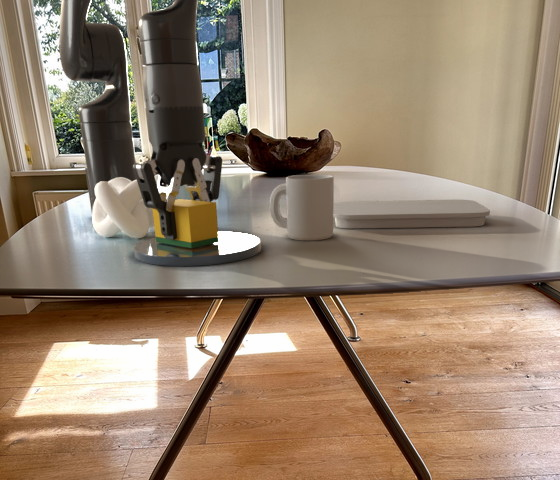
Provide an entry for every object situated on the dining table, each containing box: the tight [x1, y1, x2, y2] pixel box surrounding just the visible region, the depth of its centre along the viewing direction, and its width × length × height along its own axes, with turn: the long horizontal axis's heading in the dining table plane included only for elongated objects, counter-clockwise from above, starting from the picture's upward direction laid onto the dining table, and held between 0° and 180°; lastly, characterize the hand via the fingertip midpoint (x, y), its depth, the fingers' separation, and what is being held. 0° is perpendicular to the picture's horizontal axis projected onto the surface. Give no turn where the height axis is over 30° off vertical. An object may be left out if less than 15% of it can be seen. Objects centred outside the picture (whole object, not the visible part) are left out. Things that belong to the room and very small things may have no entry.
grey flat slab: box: [333, 199, 491, 229], centre depth 104 cm, size 16×26×2 cm, turn 86°
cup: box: [269, 174, 335, 241], centre depth 92 cm, size 7×10×9 cm
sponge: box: [152, 198, 219, 248], centre depth 84 cm, size 8×5×6 cm, turn 48°
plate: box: [133, 231, 262, 267], centre depth 85 cm, size 18×18×1 cm
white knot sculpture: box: [91, 177, 154, 239], centre depth 96 cm, size 11×12×9 cm
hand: (186, 235), depth 85 cm, fingers closed on sponge, 5 cm apart
